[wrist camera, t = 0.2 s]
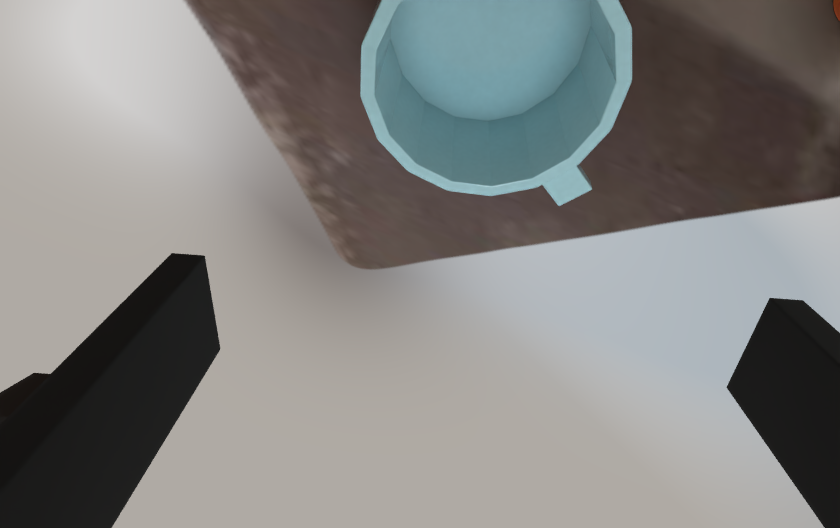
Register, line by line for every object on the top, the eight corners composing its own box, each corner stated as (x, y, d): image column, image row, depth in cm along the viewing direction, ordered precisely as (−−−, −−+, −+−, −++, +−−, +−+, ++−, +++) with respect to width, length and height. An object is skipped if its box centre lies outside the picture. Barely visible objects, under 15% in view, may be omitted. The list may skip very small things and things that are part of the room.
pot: (498, -231, 24) (506, -225, 18) (654, 79, 35) (692, 148, 29) (304, -29, 31) (265, 23, 25) (482, 179, 42) (484, 251, 36)
